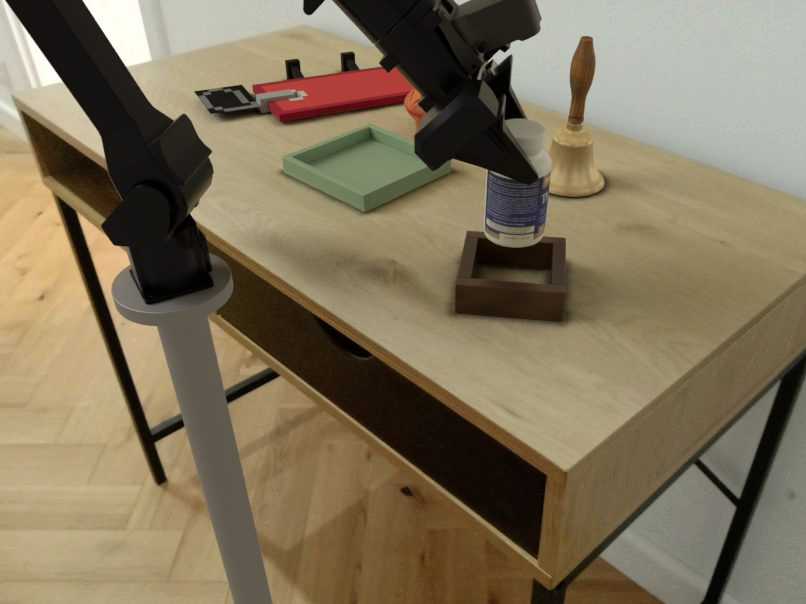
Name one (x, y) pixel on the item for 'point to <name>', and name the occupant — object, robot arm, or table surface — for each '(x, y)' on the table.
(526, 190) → the pill bottle
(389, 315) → the table surface
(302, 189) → the table surface
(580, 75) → the hand bell
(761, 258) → the table surface
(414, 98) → the pot
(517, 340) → the table surface
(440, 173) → the tray
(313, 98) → the red board with handle
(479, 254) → the bottle holder
